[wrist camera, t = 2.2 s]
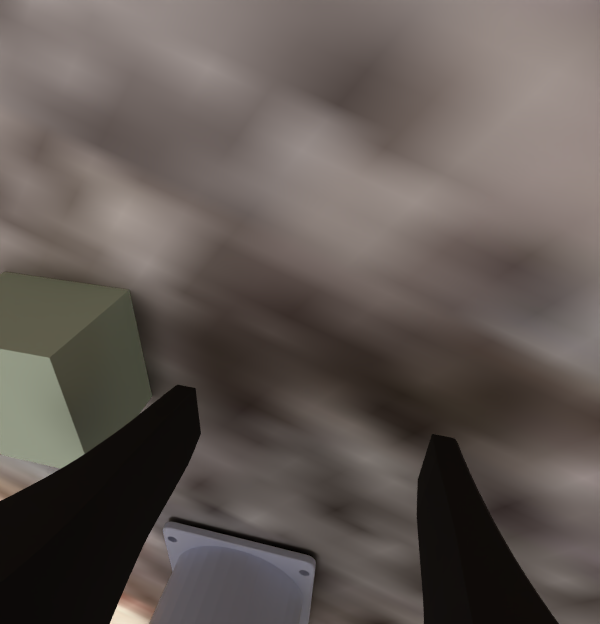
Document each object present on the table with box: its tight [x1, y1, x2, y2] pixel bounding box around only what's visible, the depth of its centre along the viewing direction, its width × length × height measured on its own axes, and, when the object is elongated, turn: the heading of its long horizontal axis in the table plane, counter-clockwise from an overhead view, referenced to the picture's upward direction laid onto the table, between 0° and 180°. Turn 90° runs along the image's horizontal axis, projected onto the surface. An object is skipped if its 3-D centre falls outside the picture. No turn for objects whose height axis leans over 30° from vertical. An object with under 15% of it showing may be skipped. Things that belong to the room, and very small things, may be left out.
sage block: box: [0, 272, 152, 469], centre depth 15 cm, size 5×5×4 cm
